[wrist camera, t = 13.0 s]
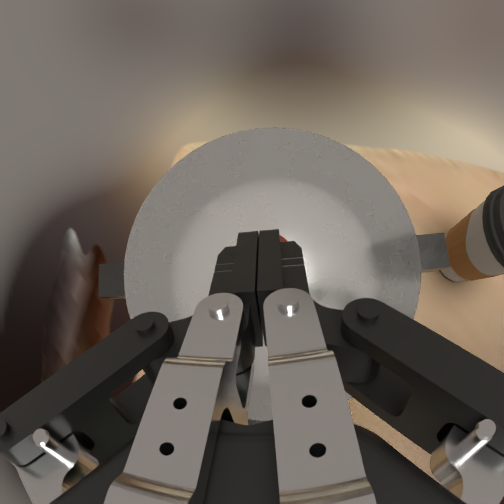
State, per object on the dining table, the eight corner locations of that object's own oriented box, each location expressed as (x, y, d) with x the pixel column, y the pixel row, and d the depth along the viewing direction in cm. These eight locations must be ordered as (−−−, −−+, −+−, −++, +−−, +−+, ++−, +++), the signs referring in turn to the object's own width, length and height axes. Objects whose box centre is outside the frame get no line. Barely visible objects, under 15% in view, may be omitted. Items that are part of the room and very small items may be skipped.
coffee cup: (466, 301, 32) (543, 285, 17) (418, 270, 33) (487, 237, 19) (484, 246, 33) (554, 210, 18) (439, 215, 34) (501, 162, 20)
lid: (140, 419, 21) (121, 430, 18) (139, 156, 27) (123, 138, 24) (423, 400, 19) (442, 410, 16) (382, 130, 25) (391, 108, 22)
